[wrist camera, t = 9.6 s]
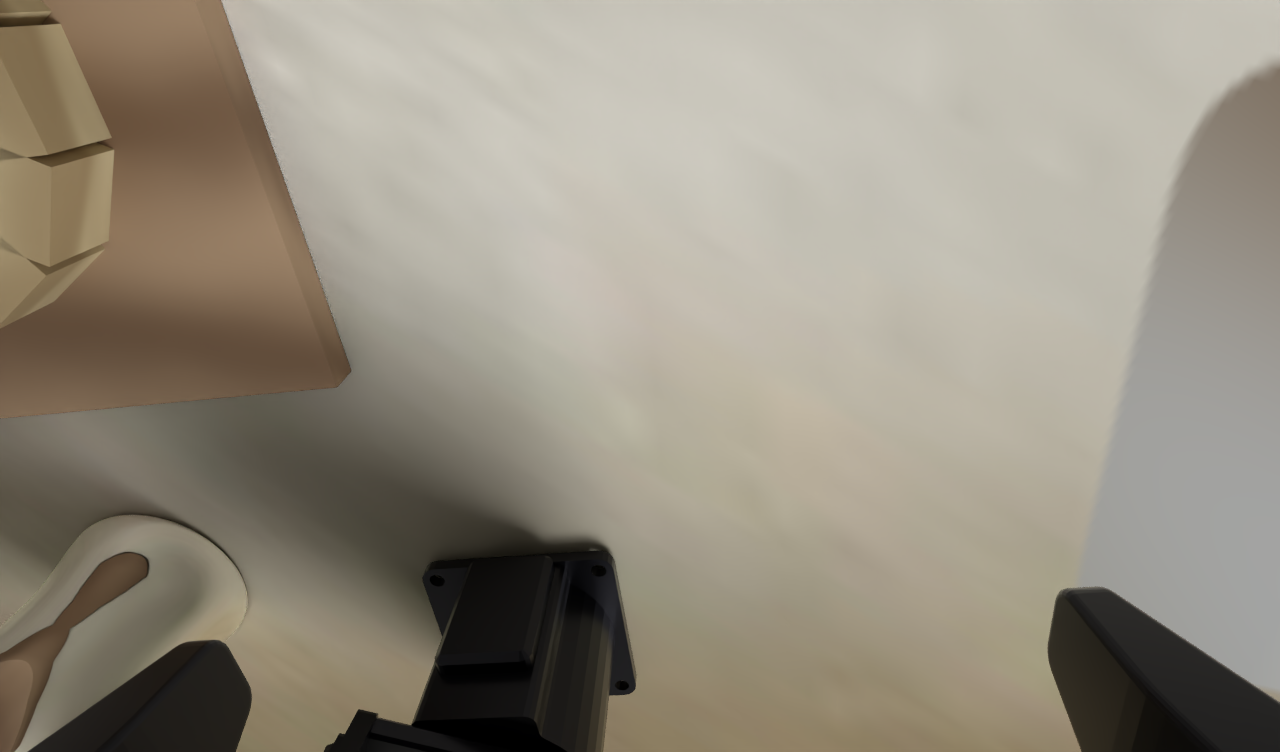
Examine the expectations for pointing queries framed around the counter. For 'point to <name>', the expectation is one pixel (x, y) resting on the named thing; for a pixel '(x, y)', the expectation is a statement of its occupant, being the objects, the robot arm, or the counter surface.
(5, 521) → the counter surface
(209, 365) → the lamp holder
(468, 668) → the robot arm
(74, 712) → the beer glass
